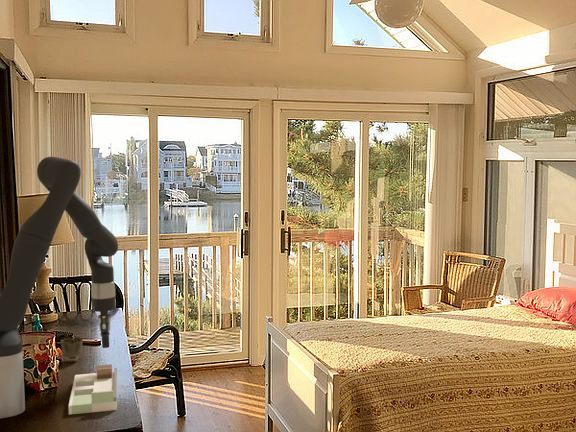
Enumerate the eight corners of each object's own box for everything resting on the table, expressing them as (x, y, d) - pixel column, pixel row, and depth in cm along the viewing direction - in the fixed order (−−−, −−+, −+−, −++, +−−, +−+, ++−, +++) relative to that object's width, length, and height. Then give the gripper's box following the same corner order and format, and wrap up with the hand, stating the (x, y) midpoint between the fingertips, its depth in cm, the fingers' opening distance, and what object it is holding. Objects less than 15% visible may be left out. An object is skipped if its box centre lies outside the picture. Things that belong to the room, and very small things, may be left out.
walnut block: (111, 377, 204) (111, 368, 203) (97, 379, 203) (96, 369, 202) (112, 373, 208) (111, 364, 208) (97, 374, 207) (97, 365, 207)
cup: (60, 364, 226) (59, 342, 225) (62, 359, 233) (61, 337, 232) (82, 363, 228) (82, 340, 227) (83, 357, 235) (83, 335, 234)
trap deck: (116, 409, 183) (116, 390, 183) (68, 414, 180) (68, 395, 180) (117, 378, 210) (116, 362, 210) (75, 382, 207) (74, 365, 207)
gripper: (115, 298, 205) (117, 351, 207) (115, 290, 218) (117, 341, 220) (90, 300, 204) (93, 354, 205) (92, 292, 216) (94, 342, 218)
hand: (105, 347), depth 212 cm, fingers closed
